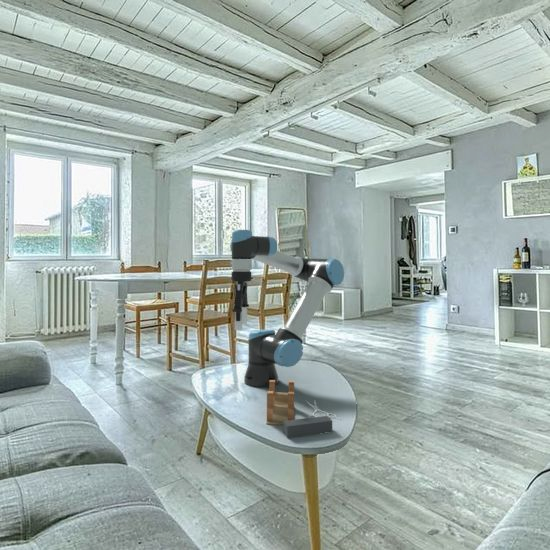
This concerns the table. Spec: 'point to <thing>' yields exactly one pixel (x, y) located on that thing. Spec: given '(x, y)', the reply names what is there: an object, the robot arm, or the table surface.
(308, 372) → the table surface
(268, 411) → the wooden ladder frame
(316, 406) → the white flat branched piece
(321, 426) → the bar
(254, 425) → the table surface
